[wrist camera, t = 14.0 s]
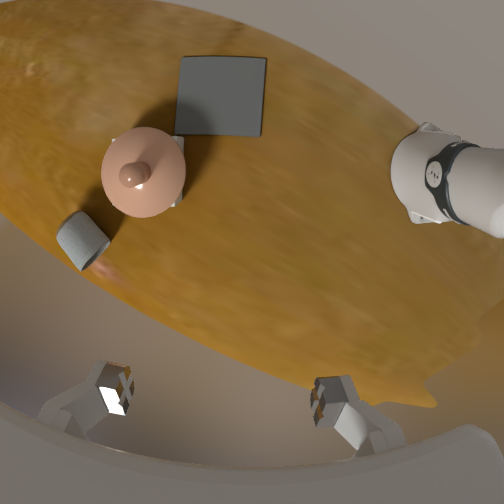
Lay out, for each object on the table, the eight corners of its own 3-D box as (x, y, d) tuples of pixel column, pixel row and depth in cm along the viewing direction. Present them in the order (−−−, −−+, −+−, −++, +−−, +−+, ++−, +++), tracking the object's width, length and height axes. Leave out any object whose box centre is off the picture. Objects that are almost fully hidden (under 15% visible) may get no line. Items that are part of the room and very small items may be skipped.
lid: (188, 125, 34) (180, 122, 30) (185, 217, 39) (177, 226, 34) (104, 130, 34) (88, 129, 29) (105, 215, 38) (90, 223, 34)
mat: (265, 59, 35) (265, 58, 35) (259, 137, 40) (259, 136, 39) (182, 58, 35) (181, 57, 34) (175, 134, 39) (174, 134, 39)
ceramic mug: (87, 203, 42) (63, 214, 35) (117, 235, 45) (96, 251, 37) (62, 241, 45) (39, 256, 38) (89, 271, 47) (69, 289, 40)
